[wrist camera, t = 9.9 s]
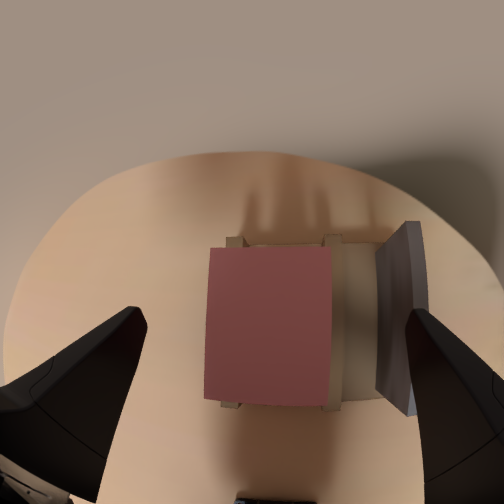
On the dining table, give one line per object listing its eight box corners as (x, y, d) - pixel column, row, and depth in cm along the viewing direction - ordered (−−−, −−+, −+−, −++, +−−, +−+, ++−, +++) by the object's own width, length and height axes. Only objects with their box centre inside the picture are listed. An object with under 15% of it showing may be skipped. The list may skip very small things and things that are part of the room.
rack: (396, 392, 15) (440, 422, 8) (231, 395, 17) (194, 429, 10) (395, 246, 18) (437, 208, 11) (235, 249, 20) (202, 211, 13)
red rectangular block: (312, 359, 16) (327, 405, 6) (256, 358, 17) (203, 398, 7) (313, 289, 17) (330, 246, 8) (259, 289, 18) (210, 247, 8)
